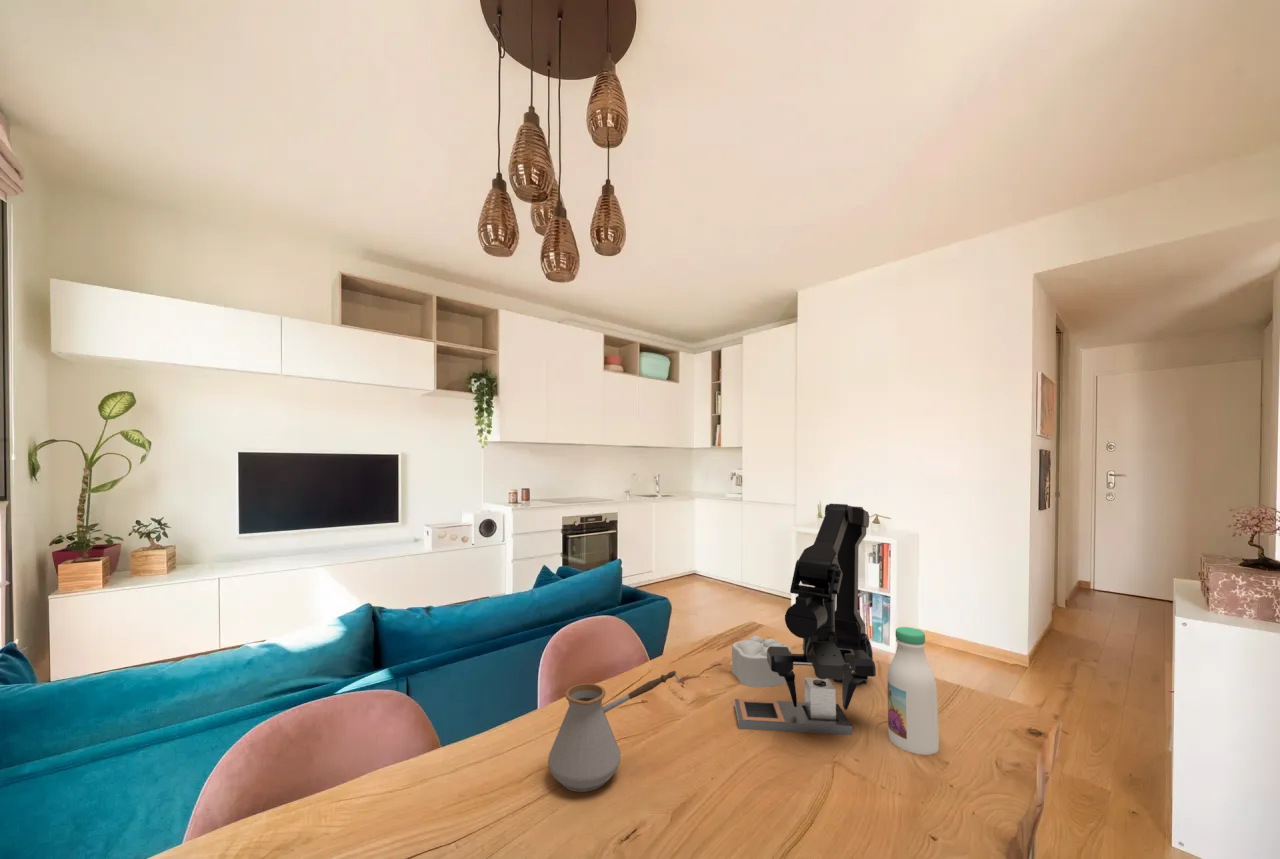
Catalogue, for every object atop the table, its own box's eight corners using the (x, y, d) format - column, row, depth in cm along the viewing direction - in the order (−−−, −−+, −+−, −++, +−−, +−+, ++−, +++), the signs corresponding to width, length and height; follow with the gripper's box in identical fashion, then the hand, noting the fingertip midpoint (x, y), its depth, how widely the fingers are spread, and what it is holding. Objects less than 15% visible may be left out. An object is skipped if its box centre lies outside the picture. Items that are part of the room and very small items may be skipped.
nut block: (829, 715, 94) (828, 677, 95) (836, 728, 90) (835, 688, 90) (805, 714, 94) (804, 676, 95) (811, 727, 90) (810, 687, 90)
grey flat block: (838, 717, 96) (838, 703, 96) (852, 740, 88) (852, 725, 88) (734, 711, 97) (734, 698, 98) (739, 734, 89) (738, 719, 90)
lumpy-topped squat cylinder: (728, 672, 115) (728, 635, 116) (779, 668, 118) (779, 632, 118) (745, 693, 105) (745, 652, 106) (801, 688, 108) (800, 648, 108)
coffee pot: (548, 805, 71) (549, 698, 72) (547, 758, 82) (548, 666, 83) (689, 787, 75) (689, 686, 76) (670, 744, 86) (670, 656, 87)
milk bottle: (936, 741, 88) (932, 627, 89) (942, 765, 81) (938, 641, 82) (887, 731, 91) (885, 620, 92) (889, 753, 84) (886, 634, 85)
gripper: (776, 636, 86) (777, 727, 85) (886, 640, 84) (889, 734, 83) (766, 616, 97) (766, 697, 96) (863, 619, 95) (865, 702, 94)
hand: (820, 707), depth 92 cm, fingers open, 9 cm apart
